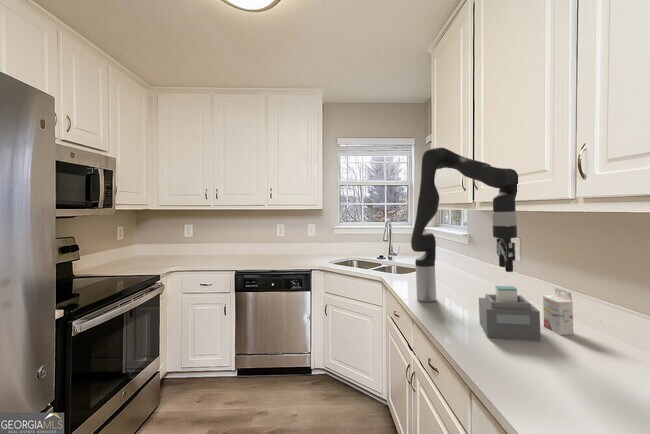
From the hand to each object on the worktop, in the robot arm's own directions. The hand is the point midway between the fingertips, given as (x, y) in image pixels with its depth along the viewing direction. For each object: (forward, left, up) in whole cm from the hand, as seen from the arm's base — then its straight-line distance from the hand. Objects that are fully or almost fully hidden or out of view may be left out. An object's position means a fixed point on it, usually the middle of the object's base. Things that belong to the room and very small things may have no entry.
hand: (505, 269), depth 111 cm
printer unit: (0, 0, -23) cm, 23 cm away
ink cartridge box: (-4, +17, -23) cm, 29 cm away
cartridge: (0, 0, -13) cm, 13 cm away
